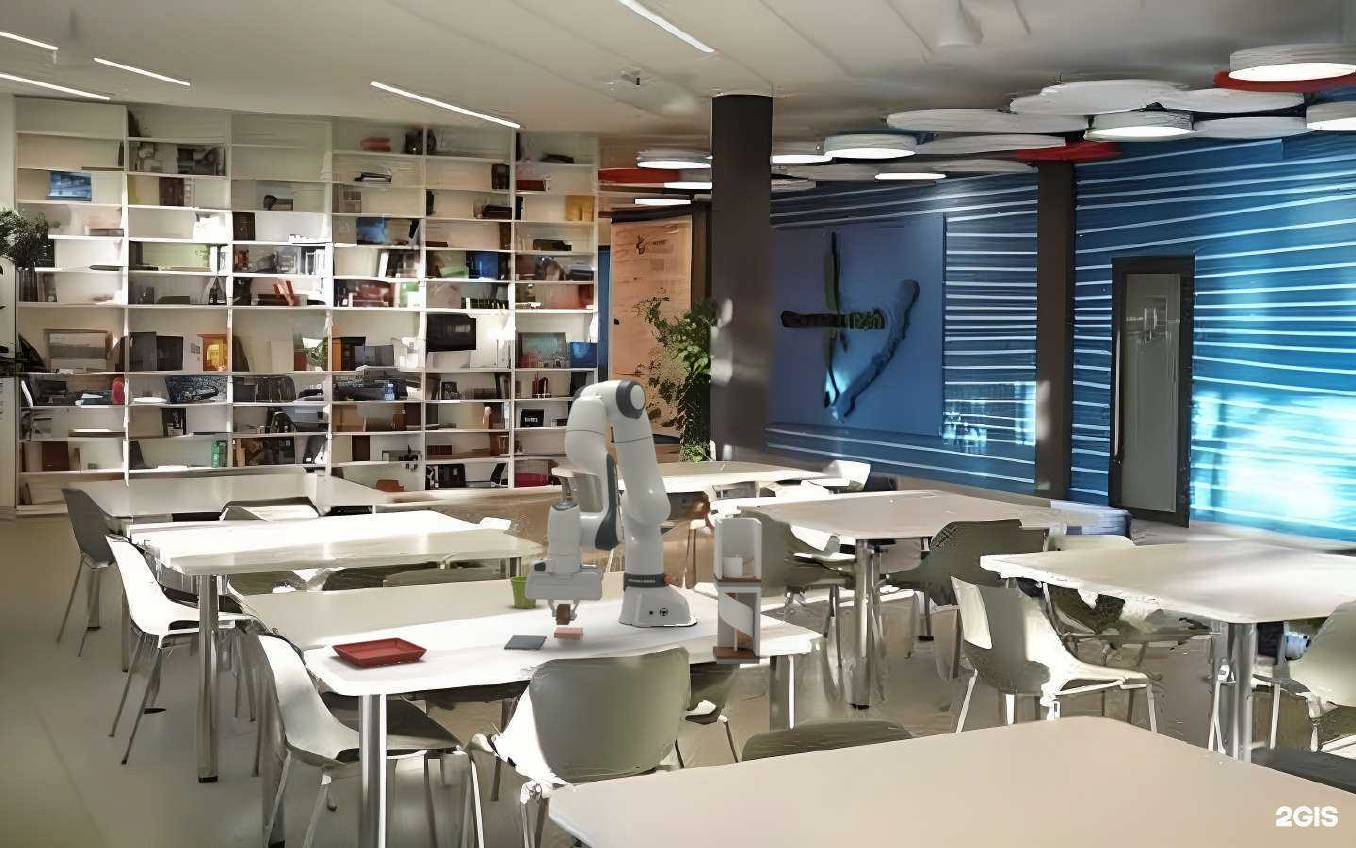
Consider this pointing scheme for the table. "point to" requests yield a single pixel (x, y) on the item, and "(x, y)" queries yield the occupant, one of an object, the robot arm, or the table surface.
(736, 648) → the display case
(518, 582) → the plant pot
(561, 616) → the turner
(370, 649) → the plant saucer
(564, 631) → the tile
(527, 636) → the mat
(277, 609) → the table surface
